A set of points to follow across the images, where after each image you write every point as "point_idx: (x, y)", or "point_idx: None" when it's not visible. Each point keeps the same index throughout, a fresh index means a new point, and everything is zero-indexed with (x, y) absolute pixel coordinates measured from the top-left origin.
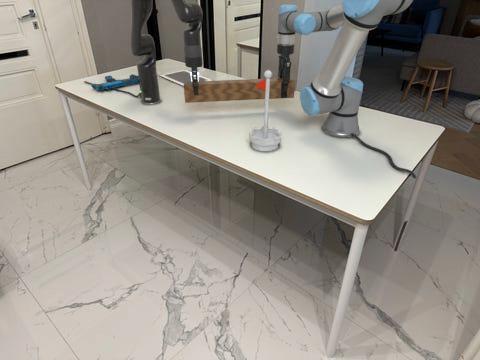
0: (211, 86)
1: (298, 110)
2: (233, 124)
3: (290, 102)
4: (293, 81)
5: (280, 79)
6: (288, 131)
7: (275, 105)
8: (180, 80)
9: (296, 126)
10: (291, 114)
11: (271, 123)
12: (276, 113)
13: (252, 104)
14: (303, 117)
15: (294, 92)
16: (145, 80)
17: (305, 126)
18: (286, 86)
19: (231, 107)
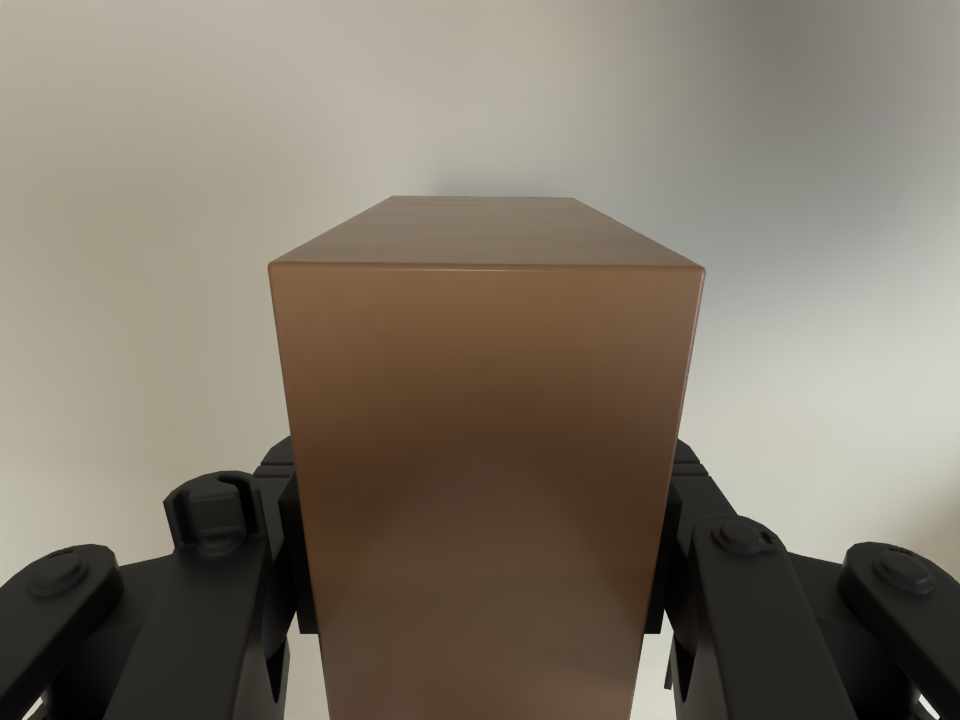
0: None
1: (412, 54)
2: (646, 703)
3: (102, 86)
4: (684, 341)
5: (474, 705)
6: (951, 343)
7: (229, 314)
8: None
9: (877, 229)
10: (533, 192)
11: (715, 452)
12: None
13: None
14: (659, 57)
15: (596, 210)
16: None
17: (921, 121)
18: (723, 510)
19: (290, 685)
